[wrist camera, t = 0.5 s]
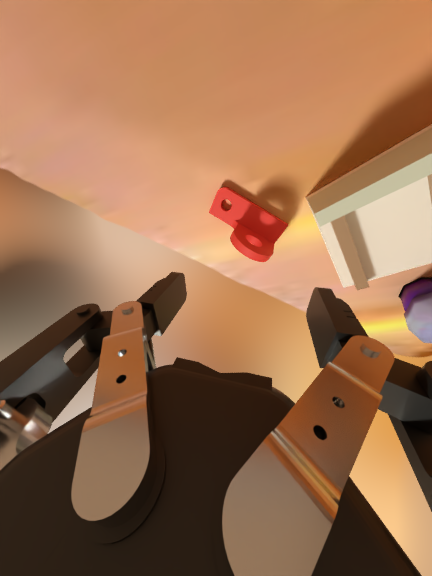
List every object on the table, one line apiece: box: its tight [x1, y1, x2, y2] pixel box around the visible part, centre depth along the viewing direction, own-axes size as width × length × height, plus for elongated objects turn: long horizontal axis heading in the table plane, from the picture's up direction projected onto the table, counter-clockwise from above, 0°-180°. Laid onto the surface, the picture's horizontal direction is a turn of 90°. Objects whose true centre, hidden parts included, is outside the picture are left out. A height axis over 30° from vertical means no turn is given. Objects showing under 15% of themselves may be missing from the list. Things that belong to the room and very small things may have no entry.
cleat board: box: [306, 124, 432, 290], centre depth 20 cm, size 14×16×10 cm
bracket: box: [209, 187, 288, 262], centre depth 26 cm, size 12×4×8 cm, turn 65°
